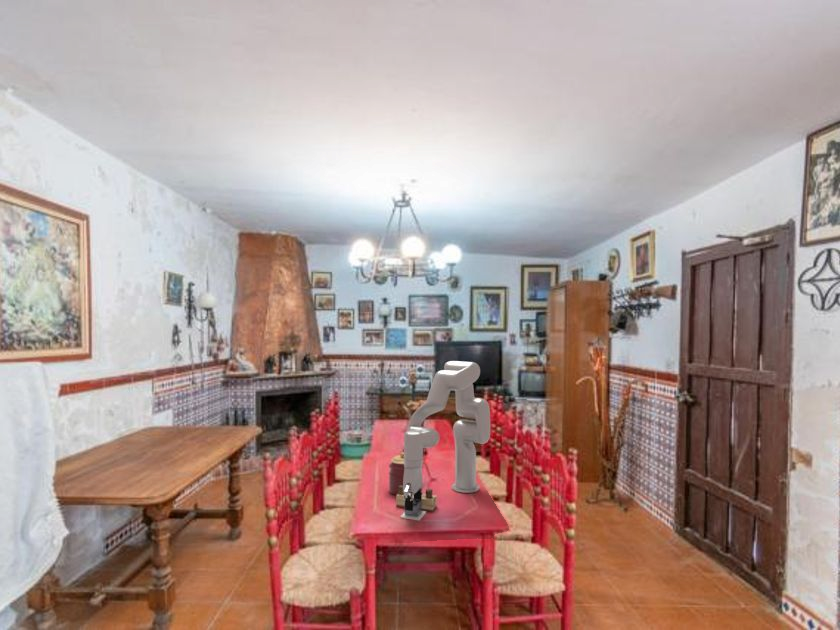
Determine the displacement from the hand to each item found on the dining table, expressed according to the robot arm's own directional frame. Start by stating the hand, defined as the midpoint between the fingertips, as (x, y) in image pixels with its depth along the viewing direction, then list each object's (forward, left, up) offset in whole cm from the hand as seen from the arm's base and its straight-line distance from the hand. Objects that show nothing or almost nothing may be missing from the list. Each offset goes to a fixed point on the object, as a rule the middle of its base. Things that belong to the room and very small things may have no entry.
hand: (413, 505), depth 186 cm
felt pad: (0, 0, -4) cm, 4 cm away
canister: (-23, -14, -4) cm, 28 cm away
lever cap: (0, 0, -3) cm, 3 cm away
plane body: (-9, -2, -4) cm, 10 cm away
